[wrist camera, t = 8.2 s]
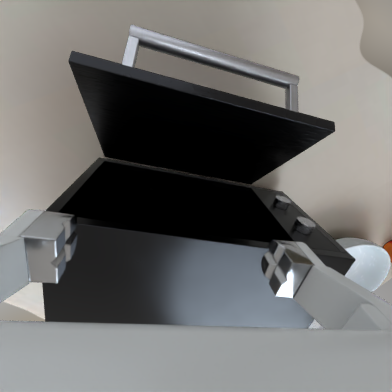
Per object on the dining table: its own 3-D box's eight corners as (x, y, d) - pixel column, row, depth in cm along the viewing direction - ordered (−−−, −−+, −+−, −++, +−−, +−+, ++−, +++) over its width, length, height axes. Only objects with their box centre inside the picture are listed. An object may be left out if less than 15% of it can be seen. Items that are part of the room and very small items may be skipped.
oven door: (113, 121, 39) (87, 2, 20) (252, 152, 44) (331, 79, 26) (104, 157, 37) (67, 60, 19) (250, 184, 42) (335, 131, 24)
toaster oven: (101, 147, 39) (35, 205, 20) (282, 182, 46) (362, 250, 27) (94, 270, 51) (49, 380, 32) (238, 283, 58) (272, 379, 39)
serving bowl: (322, 296, 64) (338, 319, 58) (275, 269, 57) (287, 291, 51) (382, 249, 58) (407, 269, 52) (338, 212, 51) (361, 229, 45)
